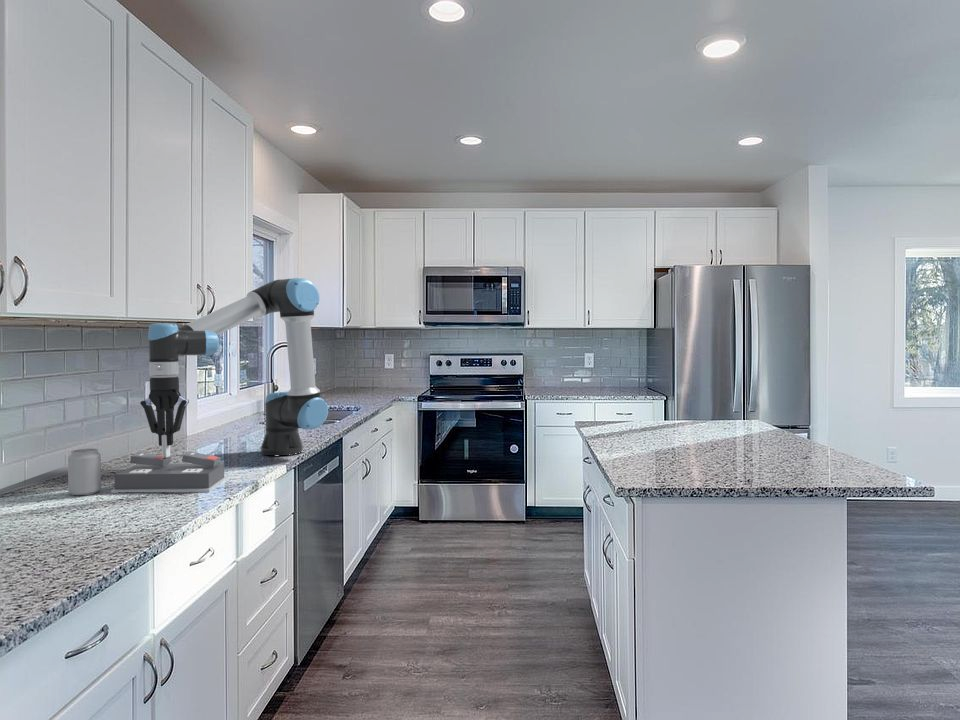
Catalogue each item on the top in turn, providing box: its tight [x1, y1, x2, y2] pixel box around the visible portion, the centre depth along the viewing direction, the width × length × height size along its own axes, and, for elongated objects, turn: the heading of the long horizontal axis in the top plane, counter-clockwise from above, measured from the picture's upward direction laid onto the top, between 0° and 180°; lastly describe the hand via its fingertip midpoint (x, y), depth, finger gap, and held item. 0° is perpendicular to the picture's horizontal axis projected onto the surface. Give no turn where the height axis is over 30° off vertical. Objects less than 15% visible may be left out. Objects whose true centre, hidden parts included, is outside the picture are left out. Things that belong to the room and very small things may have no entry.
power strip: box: [110, 463, 228, 494], centre depth 167 cm, size 15×26×5 cm, turn 96°
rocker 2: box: [181, 451, 221, 468], centre depth 170 cm, size 5×9×2 cm, turn 96°
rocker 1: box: [129, 452, 172, 467], centre depth 168 cm, size 5×9×2 cm, turn 96°
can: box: [67, 448, 102, 496], centre depth 158 cm, size 8×8×12 cm
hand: (166, 456), depth 168 cm, fingers closed
